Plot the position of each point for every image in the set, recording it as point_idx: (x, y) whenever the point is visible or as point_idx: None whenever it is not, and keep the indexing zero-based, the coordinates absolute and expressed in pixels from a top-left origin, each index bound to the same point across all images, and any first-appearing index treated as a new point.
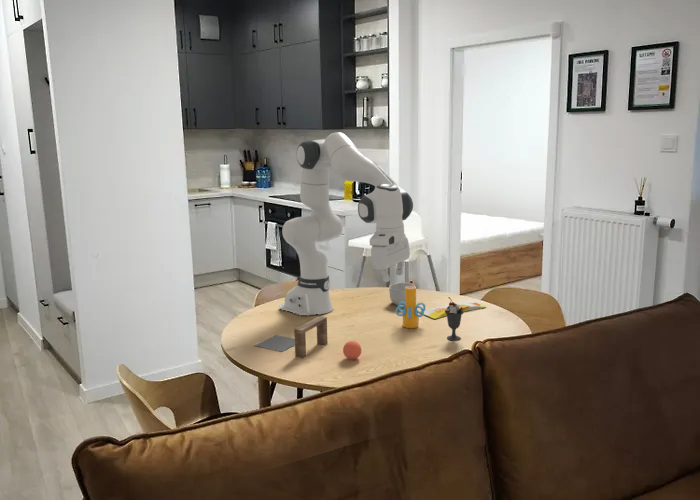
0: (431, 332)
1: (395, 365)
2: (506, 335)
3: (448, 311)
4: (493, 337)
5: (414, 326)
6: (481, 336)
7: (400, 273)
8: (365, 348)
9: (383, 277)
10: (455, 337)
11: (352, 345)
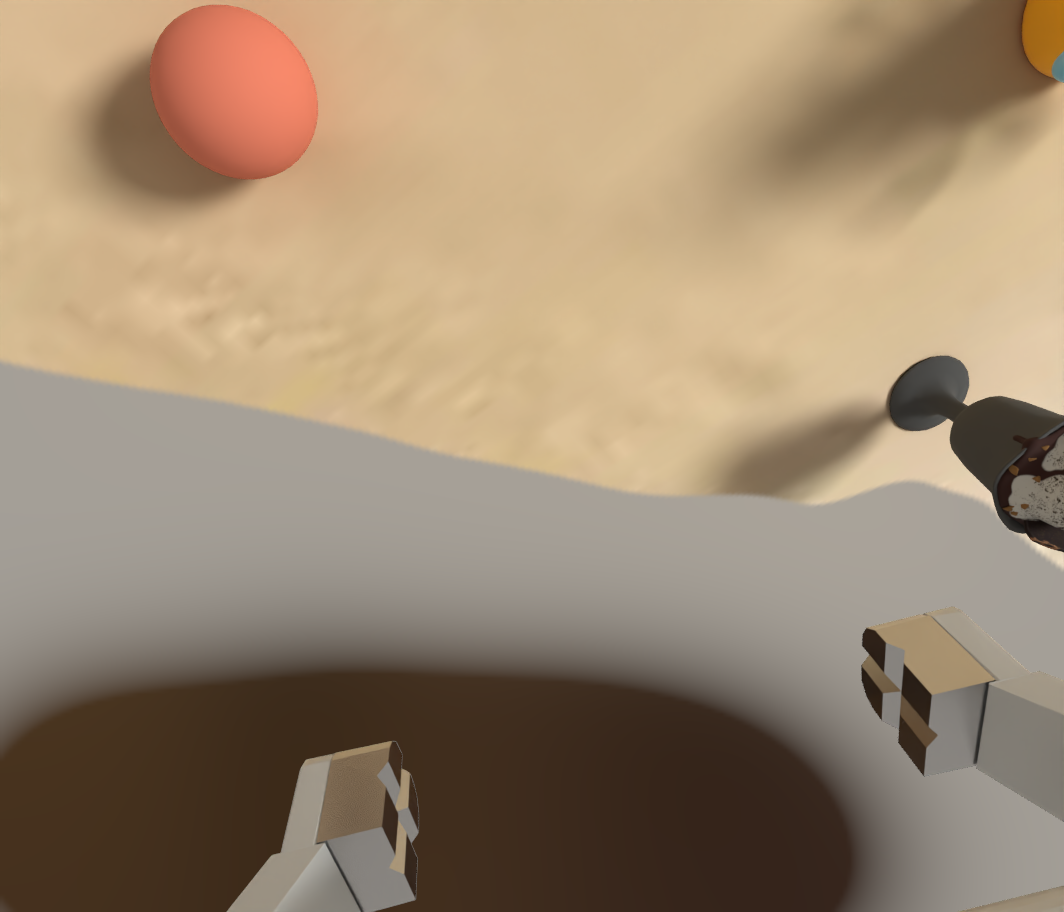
0: (986, 229)
1: (390, 394)
2: None
3: (1034, 464)
4: None
5: (1045, 71)
6: None
7: (880, 712)
8: (480, 28)
9: (290, 843)
10: (923, 414)
11: (191, 137)
